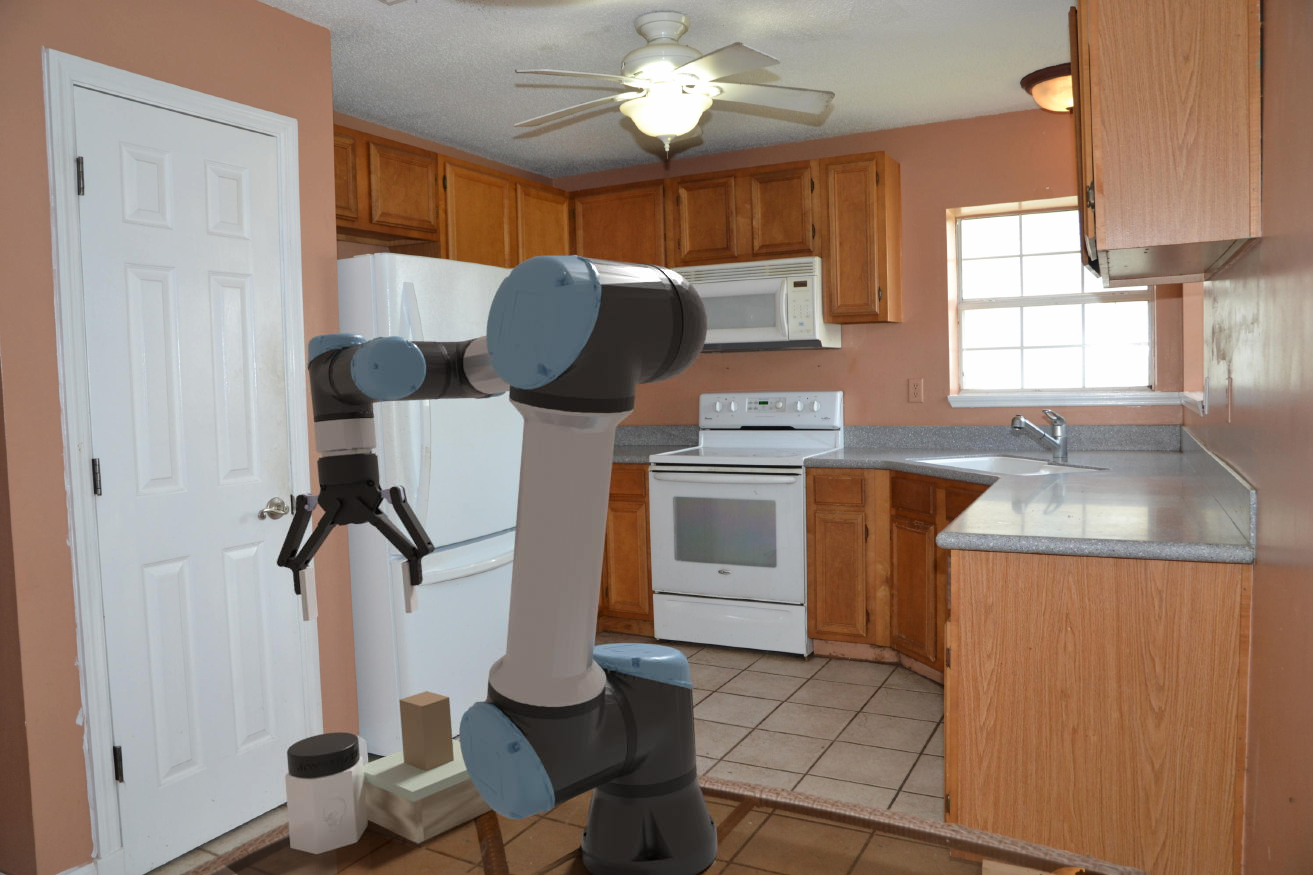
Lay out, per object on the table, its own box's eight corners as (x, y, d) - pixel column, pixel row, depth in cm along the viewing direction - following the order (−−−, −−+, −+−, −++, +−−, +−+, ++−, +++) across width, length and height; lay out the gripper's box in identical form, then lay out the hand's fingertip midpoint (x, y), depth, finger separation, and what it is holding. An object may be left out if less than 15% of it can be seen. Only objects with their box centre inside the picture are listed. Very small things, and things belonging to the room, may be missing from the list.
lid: (502, 764, 113) (497, 692, 113) (413, 801, 103) (407, 723, 103) (443, 744, 122) (438, 677, 121) (355, 777, 112) (350, 704, 112)
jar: (297, 867, 102) (289, 763, 102) (284, 841, 109) (277, 743, 108) (377, 842, 107) (369, 743, 106) (359, 819, 113) (352, 726, 113)
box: (500, 811, 113) (497, 764, 113) (418, 849, 104) (414, 799, 104) (445, 789, 121) (442, 746, 121) (364, 823, 112) (361, 776, 112)
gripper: (448, 444, 120) (462, 602, 120) (268, 460, 121) (282, 616, 121) (431, 445, 112) (446, 613, 112) (240, 462, 114) (254, 628, 114)
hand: (361, 615), depth 117 cm, fingers open, 13 cm apart
